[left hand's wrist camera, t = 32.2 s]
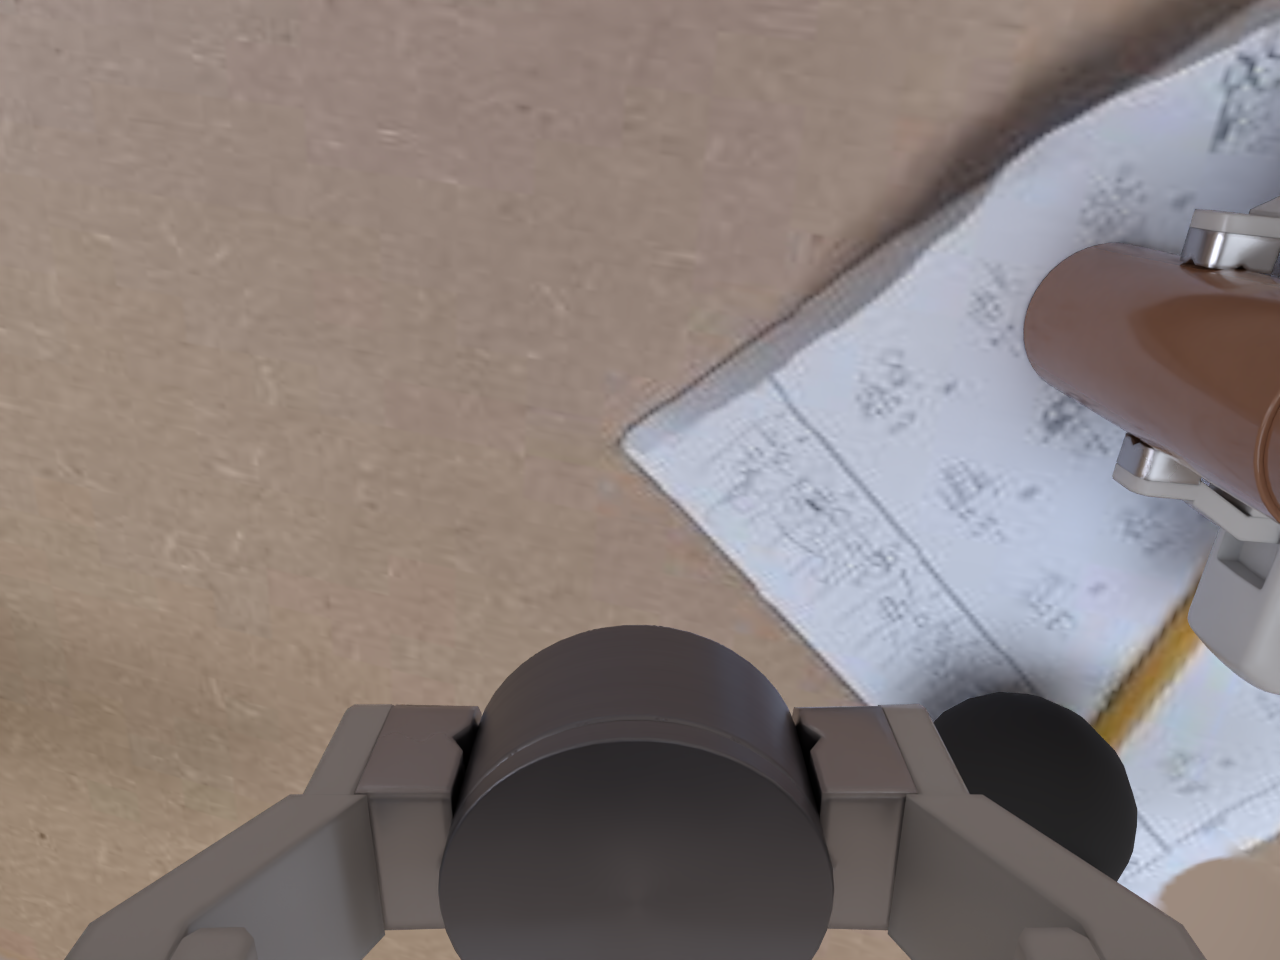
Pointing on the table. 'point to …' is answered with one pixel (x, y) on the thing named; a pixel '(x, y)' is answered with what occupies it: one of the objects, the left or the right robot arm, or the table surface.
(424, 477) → the table surface
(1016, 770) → the bomb
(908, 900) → the left robot arm
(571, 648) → the cap
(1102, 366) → the bottle
